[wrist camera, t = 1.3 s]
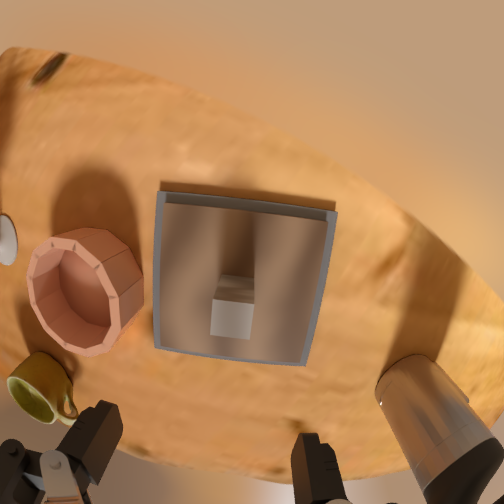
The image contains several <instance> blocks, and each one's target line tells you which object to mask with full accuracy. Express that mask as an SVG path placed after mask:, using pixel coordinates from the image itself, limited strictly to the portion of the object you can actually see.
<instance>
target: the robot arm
mask: <svg viewBox="0 0 504 504" xmlns="http://www.w3.org/2000/svg"><path fill="white" fill-rule="evenodd" d="M375 396H376V399H377V401H378V403H379V405H380V407H381V409H382V411H383V413H384V415H385V417H386V419H387V421H388V423H389V425H390V427H391V429H392V431H393V433H394V435H395V437H396V439H397V441H398V443H399V445H400V447H401V449H402V451H403V453H404V455H405V457H406V459H407V461H408V463H409V465H410V467H411V469H412V471H413V473H414V475H415V478H416V480H417V482H418V484H419V486H420V488H421V490H422V493H423V495H424V497H425V499H426V502H427V504H477V502H478V500H479V498H480V496H481V494H482V492H483V491H484V489H485V487H486V486H487V484H488V483H489V481H490V480H491V478H492V477H493V476H494V474H495V473H496V471H497V470H498V468H499V467H500V465H501V463H502V462H503V459H504V449H503V447H502V445H501V444H500V443H499V441H498V440H497V439H496V438H495V436H494V435H493V434H492V433H491V431H490V430H489V429H488V427H487V426H486V425H485V424H484V422H483V421H482V420H481V419H480V418H479V416H478V415H477V414H476V413H475V411H474V410H473V409H472V408H471V407H470V405H469V404H468V403H469V399H468V397H467V396H466V395H465V394H464V393H463V392H462V390H461V389H460V388H459V387H458V386H457V385H456V384H455V383H454V381H453V380H452V379H451V378H450V377H449V376H448V375H447V374H446V373H445V371H444V370H443V369H442V368H441V367H440V366H439V365H438V364H437V363H436V362H431V361H430V360H429V358H428V357H426V356H424V355H412V356H408V357H406V358H404V359H402V360H400V361H399V362H397V363H396V364H394V365H393V366H392V367H391V368H389V370H388V371H387V372H386V373H385V374H384V375H383V376H382V378H381V379H380V381H379V383H378V384H377V387H376V392H375ZM122 432H123V424H122V420H121V417H120V413H119V409H118V406H117V405H116V404H113V403H110V402H107V401H104V400H100V401H99V402H98V404H97V405H96V407H95V408H93V407H88V408H87V409H85V410H84V411H82V412H81V413H80V415H79V416H78V418H77V419H76V421H75V422H74V424H73V425H72V427H71V428H70V429H69V431H68V432H67V434H66V435H65V437H64V438H63V440H62V441H61V443H60V445H59V446H58V447H57V449H55V450H49V451H46V452H44V453H39V452H35V451H31V450H27V449H25V448H24V446H23V445H22V443H20V442H19V441H17V440H15V439H8V440H6V441H4V442H3V443H2V444H1V446H0V504H41V501H42V499H43V497H44V495H45V493H46V495H47V501H45V502H44V504H93V501H92V499H91V496H90V493H89V491H88V486H89V483H92V484H95V485H98V484H99V482H100V480H101V478H102V476H103V473H104V471H105V469H106V467H107V465H108V463H109V461H110V459H111V456H112V455H113V452H114V450H115V448H116V446H117V444H118V442H119V440H120V438H121V436H122ZM291 469H292V478H293V487H294V495H295V504H352V503H351V502H350V501H349V500H348V499H347V497H346V495H345V490H344V486H343V482H342V478H341V474H340V471H339V467H338V463H337V459H336V455H335V452H334V450H333V449H332V448H331V447H330V445H329V444H328V443H323V444H320V441H319V436H318V434H317V433H299V435H298V438H297V440H296V443H295V445H294V448H293V450H292V454H291ZM387 504H397V503H387ZM493 504H504V495H503V496H502V497H500V498H499V499H498V500H497V501H495V502H494V503H493Z"/></svg>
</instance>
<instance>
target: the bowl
mask: <svg viewBox="0 0 504 504" xmlns="http://www.w3.org/2000/svg"><path fill="white" fill-rule="evenodd" d="M26 277H27V285H28V292H29V298H30V303H31V306H32V308H33V310H34V312H35V314H36V315H37V317H38V319H39V321H40V323H41V325H42V327H43V328H44V330H45V331H46V332H47V333H48V334H49V335H50V336H51V337H52V338H53V339H54V340H55V341H56V342H58V343H59V344H60V345H61V346H62V347H63V348H64V349H65V350H68V351H71V352H74V353H77V354H80V355H83V356H86V357H92V356H95V355H99V354H102V353H106V352H109V351H110V350H111V349H112V347H113V346H114V345H115V344H116V343H117V341H118V340H119V339H120V338H121V337H122V335H123V334H124V333H125V332H126V331H127V329H128V328H129V327H130V326H131V325H132V323H133V322H134V320H135V318H136V316H137V315H138V313H139V312H140V310H141V308H142V307H143V305H144V296H143V275H142V273H141V270H140V268H139V266H138V264H137V262H136V260H135V258H134V256H133V254H132V252H131V250H130V248H129V247H128V246H127V245H125V244H124V243H123V242H122V241H120V240H119V239H118V238H117V237H116V236H114V235H113V234H112V233H111V232H109V231H108V230H105V229H95V228H86V227H83V228H80V229H76V230H72V231H69V232H65V233H62V234H58V235H55V236H52V237H50V238H48V239H47V240H46V241H44V242H43V243H42V244H41V245H39V246H38V247H37V248H36V249H34V250H33V253H32V256H31V259H30V263H29V267H28V270H27V274H26Z"/></svg>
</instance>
